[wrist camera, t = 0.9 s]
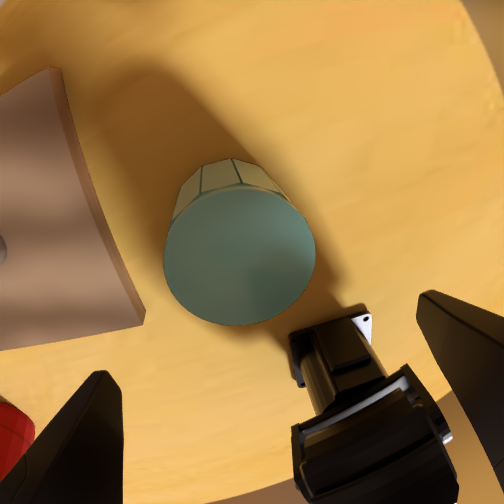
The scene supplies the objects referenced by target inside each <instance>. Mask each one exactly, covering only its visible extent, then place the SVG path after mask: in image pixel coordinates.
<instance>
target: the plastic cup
mask: <svg viewBox="0 0 504 504" xmlns="http://www.w3.org/2000/svg"><path fill="white" fill-rule="evenodd" d="M34 437H35V426H34V423H33V422H32V421H31V419H30V418H29V417H28V416H26V415H25V414H24V413H23V412H21V411H20V410H18V409H16V408H15V407H13V406H11V405H8V404H6V403H1V402H0V481H1V480H2V479H3V478H4V477H5V475H6V474H7V473H8V472H9V471H10V470H11V469H12V467H13V466H14V465H15V464H16V463H17V461H18V460H19V459H20V458H21V456H22V455H23V454H24V453H26V450H27V449H28V448H29V447H30V445H31V444H32V443H33V442H34Z"/></svg>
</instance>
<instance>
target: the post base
mask: <svg viewBox="0 0 504 504" xmlns="http://www.w3.org/2000/svg"><path fill="white" fill-rule="evenodd" d="M145 313H146V310H145V308H144V306H143V303H142V301H141V299H140V297H139V295H138V293H137V291H136V289H135V287H134V285H133V282H132V280H131V278H130V276H129V274H128V271H127V269H126V267H125V265H124V262H123V260H122V258H121V256H120V253H119V251H118V249H117V246H116V244H115V241H114V239H113V237H112V234H111V232H110V229H109V227H108V224H107V222H106V219H105V216H104V214H103V211H102V209H101V206H100V203H99V200H98V198H97V195H96V192H95V189H94V187H93V184H92V181H91V178H90V175H89V172H88V169H87V166H86V163H85V160H84V157H83V153H82V150H81V147H80V144H79V140H78V137H77V134H76V130H75V127H74V123H73V119H72V116H71V112H70V108H69V104H68V100H67V96H66V92H65V88H64V83H63V79H62V74H61V69H60V68H54V67H47V68H45V69H43V70H41V71H40V72H38V73H36V74H34V75H33V76H31V77H29V78H28V79H26V80H24V81H23V82H21V83H19V84H18V85H16V86H15V87H13V88H12V89H10V90H9V91H7V92H6V93H4V94H3V95H1V96H0V351H3V350H10V349H16V348H23V347H29V346H35V345H41V344H47V343H53V342H59V341H64V340H70V339H75V338H81V337H86V336H91V335H97V334H102V333H107V332H112V331H117V330H122V329H127V328H131V327H136V326H141V325H143V322H144V318H145Z"/></svg>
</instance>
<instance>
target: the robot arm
mask: <svg viewBox="0 0 504 504" xmlns="http://www.w3.org/2000/svg"><path fill="white" fill-rule="evenodd" d="M364 317H365V318H364ZM416 319H417V323H418V325H419V327H420V329H421V331H422V333H423V335H424V337H425V339H426V341H427V343H428V345H429V347H430V350H431V352H432V354H433V356H434V358H435V360H436V362H437V364H438V366H439V367H440V369H441V371H442V373H443V374H444V376H445V378H446V379H447V381H448V383H449V384H450V386H451V388H452V390H453V391H454V393H455V395H456V397H457V398H458V400H459V402H460V404H461V406H462V407H463V409H464V411H465V413H466V415H467V417H468V419H469V421H470V422H471V424H472V426H473V428H474V430H475V432H476V434H477V436H478V438H479V440H480V442H481V444H482V446H483V448H484V450H485V452H486V454H487V456H488V458H489V461H490V463H491V465H492V467H493V470H494V472H495V474H496V476H497V479H498V481H499V483H500V486H501V488H502V490H503V493H504V317H502V316H500V315H497V314H495V313H492V312H490V311H487V310H485V309H482V308H480V307H477V306H474V305H472V304H469V303H467V302H464V301H462V300H459V299H457V298H454V297H451V296H449V295H446V294H444V293H441V292H438V291H436V290H428V291H425V292H422V293H421V294H420V295H419V299H418V306H417V313H416ZM371 328H372V315H371V314H370V312H369V311H362V312H359V313H356V314H353V315H350V316H347V317H344V318H340V319H337V320H334V321H331V322H327V323H324V324H321V325H317V326H314V327H310V328H307V329H303V330H300V331H296V332H293V333H291V334H290V335H289V336H288V341H289V346H290V351H291V356H292V361H293V366H294V372H295V377H296V382H297V385H298V387H299V388H304V387H307V390H308V393H309V396H310V399H311V402H312V405H313V408H314V411H315V414H316V416H315V417H313V418H311V419H309V420H307V421H305V422H303V423H300V424H299V423H298V424H295V425H293V426H291V432H292V436H291V443H292V458H293V473H294V481H295V486H296V489H297V490H298V491H300V492H301V493H302V495H303V496H304V498H305V499H306V501H307V502H308V503H309V504H456V503H457V499H458V492H459V485H458V483H457V480H456V479H457V474H456V471H455V469H454V466H453V464H452V462H451V460H450V457H449V455H448V453H447V451H446V449H445V447H444V445H445V444H447V443H448V442H450V441H451V440H452V435H451V431H450V429H449V426H448V424H447V422H446V420H445V418H444V416H443V414H442V412H441V411H440V409H439V407H438V406H437V404H436V402H435V401H434V399H433V398H432V396H431V395H430V394H429V392H428V391H427V390H426V388H425V387H424V386H423V384H422V383H421V381H420V380H419V379H418V377H417V376H416V375H415V373H414V372H413V371H412V369H411V368H410V367H409V365H408V364H407V363H406V364H405V365H403V366H402V367H400V369H399V370H398V371H396V372H395V373H393V374H392V375H390V376H388V374H387V372H386V371H385V369H384V367H383V366H382V364H381V362H380V360H379V359H378V357H377V355H376V354H375V352H374V350H373V349H372V347H371ZM295 338H297V339H295ZM293 339H294V340H293ZM123 449H124V432H123V412H122V392H121V389H120V387H119V386H118V385H117V383H116V382H115V380H114V379H113V378H112V376H111V375H110V373H109V372H108V371H106V370H100V371H94V372H93V373H92V374H91V375H90V376H89V377H88V378H87V379H86V380H85V382H84V383H83V384H82V385H81V386H80V387H79V388H78V390H77V391H76V392H75V393H74V394H73V395H72V397H71V398H70V399H69V400H68V401H67V402H66V404H65V405H64V406H63V407H62V408H61V409H60V411H59V412H58V413H57V414H56V415H55V417H54V418H53V419H52V420H51V421H50V422H49V424H48V425H47V426H46V427H45V428H44V430H43V431H42V432H41V433H40V434H39V436H38V437H37V438H36V439H35V441H34V442H33V443H32V444H31V445H30V447H29V448H28V449H27V450H26V453H24V454H23V455H22V456H21V458H20V459H19V460H18V461H17V463H16V464H15V465H14V466H13V467H12V469H11V470H10V471H9V472H8V473H7V474H6V475H5V477H4V478H3V479H2V480H1V481H0V504H123Z"/></svg>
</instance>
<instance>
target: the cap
mask: <svg viewBox="0 0 504 504" xmlns="http://www.w3.org/2000/svg"><path fill="white" fill-rule="evenodd" d="M315 258H316V251H315V243H314V238H313V236H312V233H311V230H310V228H309V226H308V225H307V222H306V219H305V218H304V217H303V216H302V214H301V213H300V212H299V211H298V209H297V208H296V207H295V206H294V205H293V203H292V202H291V201H290V200H289V198H288V197H287V196H286V195H285V194H284V192H283V191H282V190H281V189H280V187H279V186H278V185H277V184H276V183H275V182H274V181H273V180H272V179H271V178H270V177H269V175H268V174H267V173H266V172H265V171H264V170H263V169H262V168H261V167H259V166H257V165H254V164H250V163H247V162H243V161H239V160H236V159H232V161H231V159H227V160H223V161H219V162H215V163H211V164H207V165H203V168H202V167H200V168H199V169H198V170H197V171H196V172H195V173H194V174H193V175H192V176H191V177H190V178H189V179H188V180H187V181H186V182H185V183H184V184H183V185H182V186H181V188H180V191H179V195H178V198H177V202H176V205H175V209H174V212H173V216H172V219H171V223H170V227H169V232H168V236H167V241H166V245H165V249H164V255H163V268H164V274H165V278H166V281H167V284H168V286H169V288H170V290H171V292H172V294H173V295H174V297H175V298H176V299H177V300H178V302H179V303H180V304H181V305H182V306H183V307H184V308H186V309H187V310H188V311H189V312H191V313H192V314H194V315H196V316H197V317H199V318H201V319H204V320H206V321H209V322H212V323H216V324H220V325H228V326H242V325H250V324H255V323H259V322H262V321H265V320H268V319H270V318H272V317H274V316H276V315H278V314H280V313H281V312H283V311H284V310H286V309H287V308H289V307H290V306H291V305H292V304H293V303H294V302H295V301H296V300H297V299H298V298H299V297H300V296H301V294H302V293H303V292H304V290H305V289H306V287H307V285H308V283H309V281H310V279H311V276H312V274H313V270H314V266H315Z"/></svg>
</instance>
